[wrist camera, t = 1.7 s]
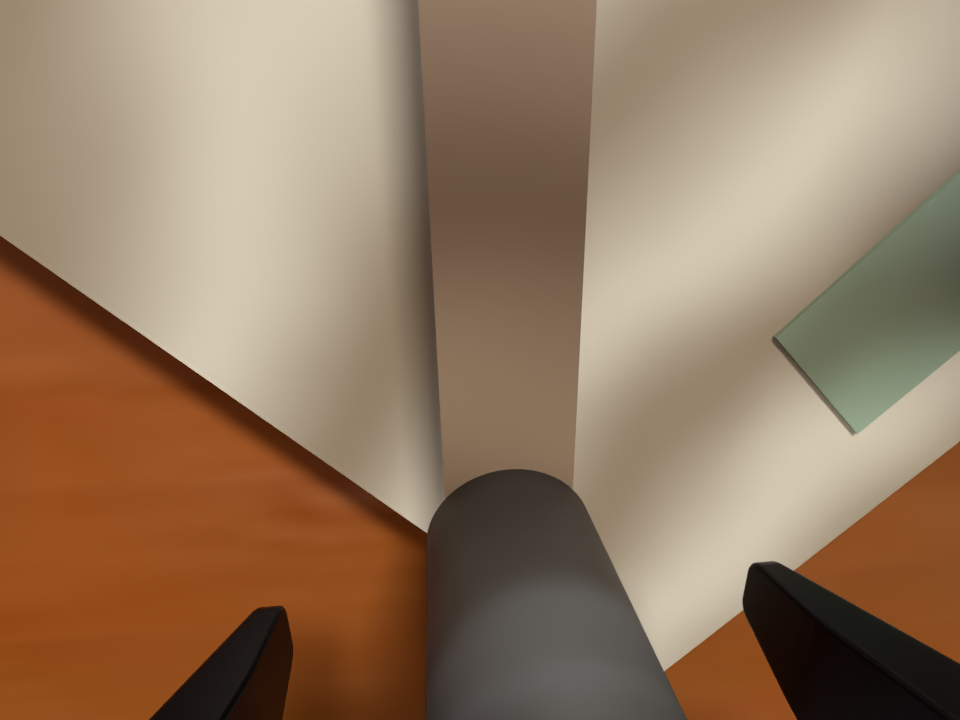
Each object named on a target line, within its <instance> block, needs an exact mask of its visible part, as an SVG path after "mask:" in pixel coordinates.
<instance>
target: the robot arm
mask: <svg viewBox="0 0 960 720" xmlns="http://www.w3.org/2000/svg"><path fill="white" fill-rule="evenodd" d="M742 605H743V610H744V613H745V616H746V618H747V620H748V622H749V624H750V626H751V628H752V630H753V632H754V634H755V636H756V638H757V640H758V643H759V645H760V647H761V649H762V651H763V653H764V655H765V657H766V659H767V661H768V663H769V665H770V667H771V669H772V671H773V673H774V675H775V677H776V679H777V682H778V684H779V686H780V688H781V690H782V692H783V694H784V696H785V698H786V700H787V702H788V703H789V705H790V707H791V709H792V711H793V713H794V715H795V716H796V718H797V720H960V664H959V663H957V662H956V661H954V660H952V659H950V658H949V657H947V656H945V655H943V654H941V653H940V652H938V651H936V650H934V649H933V648H931V647H929V646H927V645H925V644H924V643H922V642H920V641H918V640H916V639H915V638H913V637H911V636H909V635H908V634H906V633H904V632H902V631H900V630H899V629H897V628H895V627H893V626H891V625H890V624H888V623H886V622H884V621H883V620H881V619H879V618H877V617H875V616H874V615H872V614H870V613H868V612H866V611H865V610H863V609H861V608H859V607H858V606H856V605H854V604H852V603H850V602H849V601H847V600H845V599H843V598H842V597H840V596H838V595H836V594H834V593H833V592H831V591H829V590H827V589H825V588H824V587H822V586H820V585H818V584H817V583H815V582H813V581H811V580H809V579H808V578H806V577H804V576H802V575H800V574H799V573H797V572H795V571H793V570H792V569H790V568H788V567H786V566H784V565H783V564H781V563H779V562H776V561H766V562H755V563H752V564H751V565H750V567H749V569H748V573H747V578H746V583H745V588H744V593H743V598H742ZM292 659H293V642H292V637H291V632H290V627H289V622H288V617H287V613H286V610H285V608H284V607H283V606H271V607H260V608H257V609H256V610H254V611H253V612H252V613H251V614H250V615H249V616H248V617H247V618H246V619H245V620H244V621H243V622H242V624H241V625H240V626H239V627H238V628H237V629H236V630H235V631H234V632H233V633H232V634H231V635H230V636H229V637H228V638H227V639H226V640H225V641H224V642H223V643H222V644H221V645H220V646H219V647H218V648H217V650H216V651H215V652H214V653H213V654H212V655H211V656H210V657H209V658H208V659H207V660H206V661H205V662H204V663H203V664H202V665H201V666H200V667H199V668H198V669H197V670H196V671H195V672H194V673H193V674H192V676H191V677H190V678H189V679H188V680H187V681H186V682H185V683H184V684H183V685H182V686H181V687H180V688H179V689H178V690H177V691H176V692H175V693H174V694H173V695H172V696H171V697H170V698H169V699H168V700H167V702H166V703H165V704H164V705H163V706H162V707H161V708H160V709H159V710H158V711H157V712H156V713H155V714H154V715H153V716H152V717H151V718H150V719H149V720H282V717H283V712H284V706H285V700H286V694H287V688H288V683H289V677H290V671H291V665H292Z"/></svg>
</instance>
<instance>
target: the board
mask: <svg viewBox="0 0 960 720" xmlns="http://www.w3.org/2000/svg"><path fill="white" fill-rule="evenodd" d="M0 236H1V237H3V238H4V239H6V240H7V241H9V242H10V243H11V244H13V245H14V246H16V247H17V248H19V249H20V250H22V251H23V252H24V253H26V254H27V255H29V256H30V257H32V258H33V259H34V260H36V261H37V262H39V263H40V264H42V265H43V266H44V267H46V268H47V269H49V270H50V271H52V272H53V273H54V274H56V275H57V276H59V277H60V278H62V279H63V280H65V281H66V282H67V283H69V284H70V285H72V286H73V287H75V288H76V289H77V290H79V291H80V292H82V293H83V294H85V295H86V296H87V297H89V298H90V299H92V300H93V301H95V302H96V303H98V304H99V305H100V306H102V307H103V308H105V309H106V310H108V311H109V312H110V313H112V314H113V315H115V316H116V317H118V318H119V319H120V320H122V321H123V322H125V323H126V324H128V325H129V326H131V327H132V328H133V329H135V330H136V331H138V332H139V333H141V334H142V335H143V336H145V337H146V338H148V339H149V340H151V341H152V342H153V343H155V344H156V345H158V346H159V347H161V348H162V349H163V350H165V351H166V352H168V353H169V354H171V355H172V356H174V357H175V358H176V359H178V360H179V361H181V362H182V363H184V364H185V365H186V366H188V367H189V368H191V369H192V370H194V371H195V372H196V373H198V374H199V375H201V376H202V377H204V378H205V379H207V380H208V381H209V382H211V383H212V384H214V385H215V386H217V387H218V388H219V389H221V390H222V391H224V392H225V393H227V394H228V395H229V396H231V397H232V398H234V399H235V400H237V401H238V402H240V403H241V404H242V405H244V406H245V407H247V408H248V409H250V410H251V411H252V412H254V413H255V414H257V415H258V416H260V417H261V418H262V419H264V420H265V421H267V422H268V423H270V424H271V425H272V426H274V427H275V428H277V429H278V430H280V431H281V432H283V433H284V434H285V435H287V436H288V437H290V438H291V439H293V440H294V441H295V442H297V443H298V444H300V445H301V446H303V447H304V448H305V449H307V450H308V451H310V452H311V453H313V454H314V455H316V456H317V457H318V458H320V459H321V460H323V461H324V462H326V463H327V464H328V465H330V466H331V467H333V468H334V469H336V470H337V471H338V472H340V473H341V474H343V475H344V476H346V477H347V478H349V479H350V480H351V481H353V482H354V483H356V484H357V485H359V486H360V487H361V488H363V489H364V490H366V491H367V492H369V493H370V494H371V495H373V496H374V497H376V498H377V499H379V500H380V501H381V502H383V503H384V504H386V505H387V506H389V507H390V508H392V509H393V510H394V511H396V512H397V513H399V514H400V515H402V516H403V517H404V518H406V519H407V520H409V521H410V522H412V523H413V524H414V525H416V526H417V527H419V528H420V529H422V530H423V531H425V532H426V533H427V532H428V528H429V525H430V522H431V520H432V518H433V516H434V514H435V512H436V510H437V509H438V507H439V506H440V505H441V503H442V502H443V501H444V500H445V493H444V474H443V456H442V437H441V419H440V400H439V381H438V363H437V344H436V326H435V307H434V289H433V270H432V251H431V233H430V214H429V196H428V177H427V159H426V140H425V121H424V103H423V84H422V66H421V47H420V29H419V10H418V0H0ZM959 441H960V0H597V8H596V28H595V48H594V69H593V89H592V110H591V130H590V151H589V171H588V192H587V212H586V233H585V253H584V273H583V294H582V314H581V335H580V355H579V376H578V396H577V417H576V437H575V457H574V478H573V490H574V491H575V492H576V493H577V495H578V496H579V497H580V499H581V500H582V502H583V503H584V505H585V507H586V509H587V511H588V513H589V515H590V517H591V519H592V522H593V524H594V526H595V528H596V530H597V532H598V534H599V536H600V538H601V540H602V543H603V545H604V547H605V549H606V551H607V553H608V555H609V557H610V559H611V561H612V564H613V566H614V568H615V570H616V572H617V574H618V576H619V578H620V580H621V582H622V584H623V587H624V589H625V591H626V593H627V595H628V597H629V599H630V601H631V603H632V605H633V608H634V610H635V612H636V614H637V616H638V618H639V620H640V622H641V624H642V626H643V629H644V631H645V633H646V635H647V637H648V639H649V641H650V643H651V645H652V647H653V649H654V652H655V654H656V656H657V658H658V660H659V662H660V664H661V666H662V668H663V670H664V671H665V670H666V669H668V668H669V667H670V666H672V665H673V664H674V663H675V662H677V661H678V660H679V659H681V658H682V657H683V656H684V655H686V654H687V653H688V652H690V651H691V650H692V649H693V648H695V647H696V646H697V645H699V644H700V643H701V642H702V641H704V640H705V639H706V638H708V637H709V636H710V635H711V634H713V633H714V632H715V631H717V630H718V629H719V628H720V627H722V626H723V625H724V624H726V623H727V622H728V621H729V620H731V619H732V618H733V617H735V616H736V615H737V614H738V613H740V612H741V611H742V610H743V605H742V598H743V593H744V588H745V583H746V578H747V573H748V569H749V567H750V565H751V564H752V563H755V562H766V561H776V562H779V563H781V564H783V565H784V566H786V567H788V568H790V569H792V570H793V571H794V570H795V569H796V568H798V567H799V566H800V565H801V564H803V563H804V562H805V561H807V560H808V559H809V558H810V557H812V556H813V555H814V554H816V553H817V552H818V551H819V550H821V549H822V548H823V547H824V546H826V545H827V544H828V543H830V542H831V541H832V540H833V539H835V538H836V537H837V536H839V535H840V534H841V533H842V532H844V531H845V530H846V529H848V528H849V527H850V526H851V525H853V524H854V523H855V522H857V521H858V520H859V519H860V518H862V517H863V516H864V515H866V514H867V513H868V512H869V511H871V510H872V509H873V508H875V507H876V506H877V505H878V504H880V503H881V502H882V501H884V500H885V499H886V498H887V497H889V496H890V495H891V494H893V493H894V492H895V491H896V490H898V489H899V488H900V487H902V486H903V485H904V484H905V483H907V482H908V481H909V480H911V479H912V478H913V477H914V476H916V475H917V474H918V473H920V472H921V471H922V470H923V469H925V468H926V467H927V466H929V465H930V464H931V463H932V462H934V461H935V460H936V459H938V458H939V457H940V456H941V455H943V454H944V453H945V452H947V451H948V450H949V449H950V448H952V447H953V446H954V445H956V444H957V443H958V442H959Z"/></svg>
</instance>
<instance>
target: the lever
mask: <svg viewBox="0 0 960 720" xmlns="http://www.w3.org/2000/svg"><path fill="white" fill-rule="evenodd" d="M596 8H597V0H418V10H419V29H420V47H421V66H422V84H423V103H424V121H425V140H426V159H427V177H428V196H429V214H430V233H431V251H432V270H433V289H434V307H435V326H436V344H437V363H438V381H439V400H440V419H441V437H442V456H443V474H444V493H445V500H444V501H443V502H442V503H441V505H440V506H439V507H438V509H437V510H436V512H435V514H434V516H433V518H432V520H431V522H430V525H429V528H428V532H427V538H426V687H425V720H687V719H686V717H685V714H684V712H683V710H682V708H681V706H680V704H679V702H678V700H677V698H676V696H675V694H674V691H673V689H672V687H671V685H670V683H669V681H668V679H667V677H666V675H665V673H664V670H663V668H662V666H661V664H660V662H659V660H658V658H657V656H656V654H655V652H654V649H653V647H652V645H651V643H650V641H649V639H648V637H647V635H646V633H645V631H644V629H643V626H642V624H641V622H640V620H639V618H638V616H637V614H636V612H635V610H634V608H633V605H632V603H631V601H630V599H629V597H628V595H627V593H626V591H625V589H624V587H623V584H622V582H621V580H620V578H619V576H618V574H617V572H616V570H615V568H614V566H613V564H612V561H611V559H610V557H609V555H608V553H607V551H606V549H605V547H604V545H603V543H602V540H601V538H600V536H599V534H598V532H597V530H596V528H595V526H594V524H593V522H592V519H591V517H590V515H589V513H588V511H587V509H586V507H585V505H584V503H583V502H582V500H581V499H580V497H579V496H578V495H577V493H576V492H575V491H574V490H573V478H574V457H575V437H576V417H577V396H578V376H579V355H580V335H581V314H582V294H583V273H584V253H585V233H586V212H587V192H588V171H589V151H590V130H591V110H592V89H593V69H594V48H595V28H596Z"/></svg>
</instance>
